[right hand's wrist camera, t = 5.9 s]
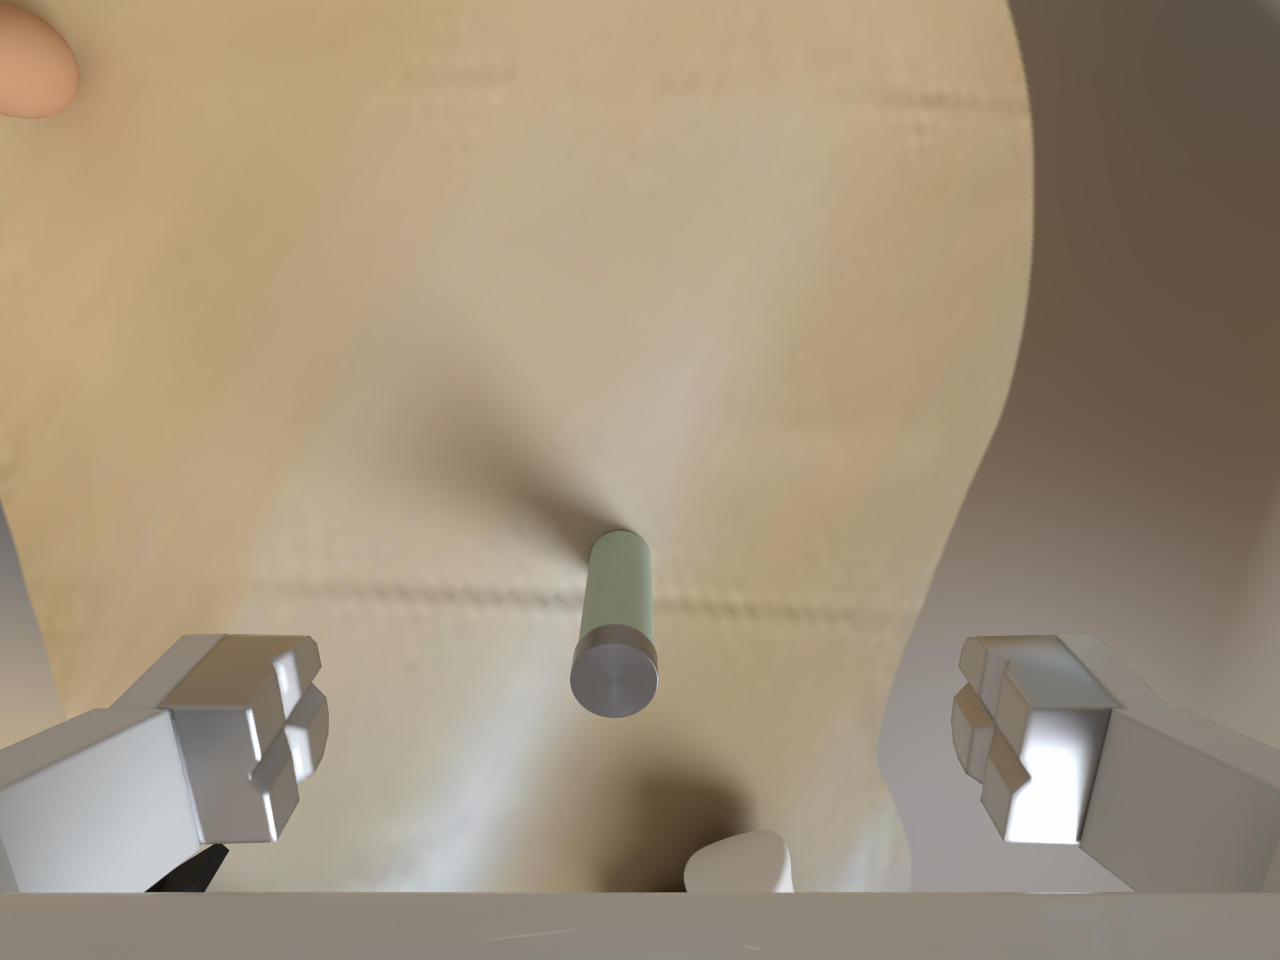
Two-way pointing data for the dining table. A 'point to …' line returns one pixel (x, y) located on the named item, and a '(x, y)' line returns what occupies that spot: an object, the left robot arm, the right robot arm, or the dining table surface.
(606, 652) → the lid
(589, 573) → the bottle
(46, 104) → the egg
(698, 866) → the fox head
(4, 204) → the dining table surface
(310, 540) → the dining table surface
